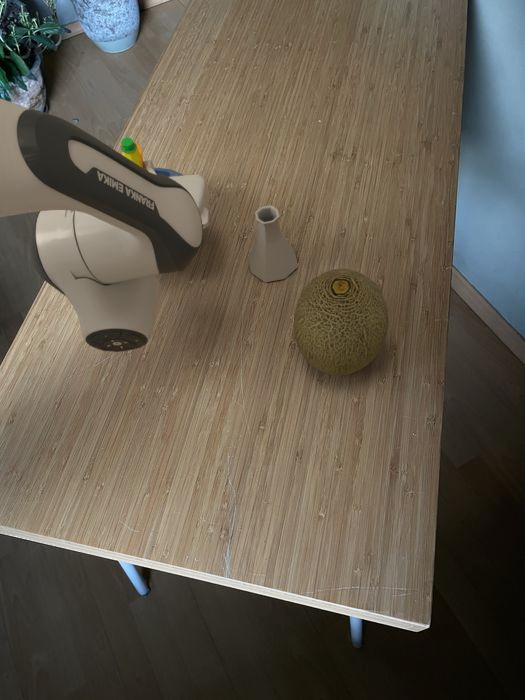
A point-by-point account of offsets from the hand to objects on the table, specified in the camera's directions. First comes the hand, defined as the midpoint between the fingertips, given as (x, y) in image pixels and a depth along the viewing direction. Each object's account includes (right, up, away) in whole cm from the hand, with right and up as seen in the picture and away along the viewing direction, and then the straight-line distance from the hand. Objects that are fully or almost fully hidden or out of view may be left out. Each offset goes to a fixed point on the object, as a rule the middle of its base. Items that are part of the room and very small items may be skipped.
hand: (137, 165), depth 83 cm
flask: (+19, -13, +3) cm, 24 cm away
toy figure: (+1, -4, +5) cm, 7 cm away
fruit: (+28, -27, -6) cm, 39 cm away
